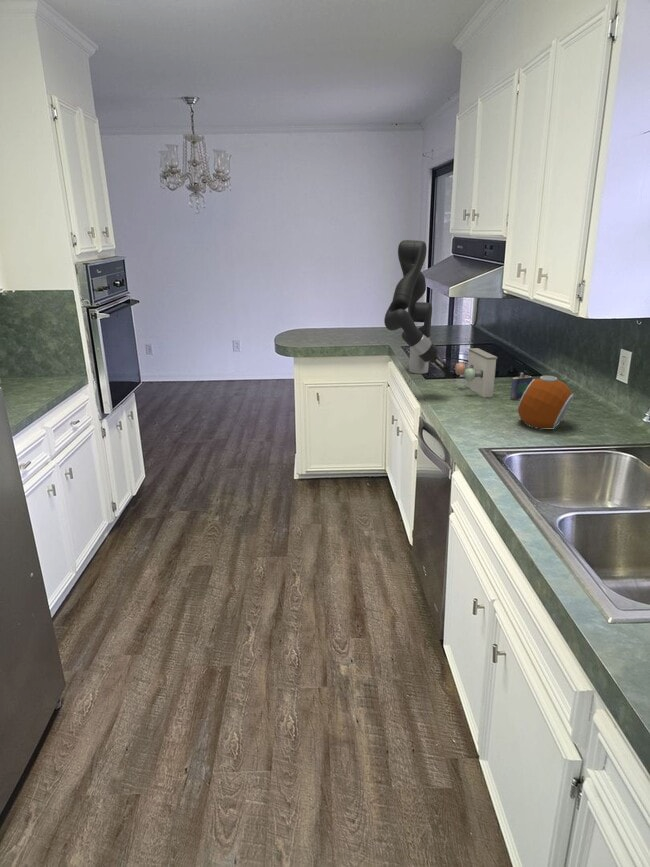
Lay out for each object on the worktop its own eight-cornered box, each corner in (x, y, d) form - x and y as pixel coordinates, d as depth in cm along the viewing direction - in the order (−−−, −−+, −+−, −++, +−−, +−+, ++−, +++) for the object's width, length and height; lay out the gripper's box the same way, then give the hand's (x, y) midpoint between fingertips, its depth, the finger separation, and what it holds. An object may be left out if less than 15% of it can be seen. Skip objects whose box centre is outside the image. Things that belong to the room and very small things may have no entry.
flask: (512, 400, 237) (515, 374, 233) (507, 398, 239) (510, 373, 236) (531, 398, 240) (534, 372, 236) (526, 396, 242) (529, 371, 239)
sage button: (463, 379, 244) (464, 367, 242) (482, 378, 245) (483, 366, 243) (468, 382, 239) (469, 370, 237) (488, 380, 240) (489, 369, 239)
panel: (465, 385, 258) (468, 348, 252) (474, 385, 259) (477, 348, 253) (483, 397, 240) (487, 357, 235) (493, 397, 241) (497, 357, 235)
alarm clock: (525, 413, 221) (531, 368, 215) (574, 421, 211) (581, 374, 205) (509, 426, 206) (514, 379, 200) (560, 436, 196) (567, 386, 190)
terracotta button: (454, 373, 253) (455, 362, 251) (473, 372, 254) (474, 361, 253) (459, 376, 248) (460, 364, 247) (477, 375, 250) (478, 363, 248)
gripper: (436, 344, 227) (463, 373, 233) (424, 338, 239) (451, 365, 245) (422, 358, 228) (450, 386, 234) (412, 351, 240) (438, 378, 246)
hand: (450, 375), depth 239 cm, fingers closed
